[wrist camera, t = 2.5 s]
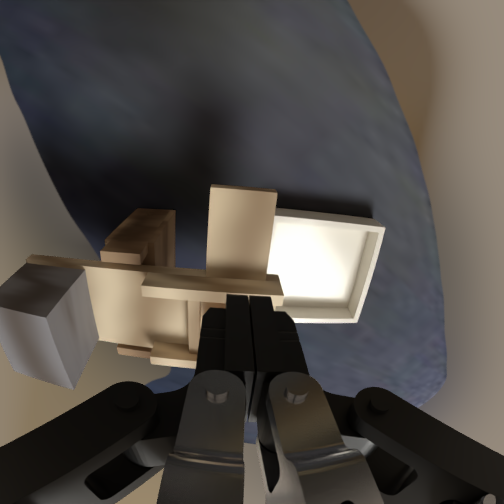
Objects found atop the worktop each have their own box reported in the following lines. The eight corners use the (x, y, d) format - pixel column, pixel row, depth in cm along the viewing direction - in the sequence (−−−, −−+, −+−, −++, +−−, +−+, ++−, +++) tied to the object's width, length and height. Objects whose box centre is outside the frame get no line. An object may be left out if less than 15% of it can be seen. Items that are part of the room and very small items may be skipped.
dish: (267, 207, 29) (271, 215, 26) (373, 218, 30) (385, 227, 27) (255, 306, 33) (257, 321, 31) (349, 309, 34) (356, 322, 32)
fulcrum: (142, 290, 32) (113, 353, 22) (137, 208, 28) (94, 250, 18) (175, 293, 32) (157, 359, 22) (175, 210, 28) (147, 254, 19)
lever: (49, 322, 22) (15, 373, 15) (22, 182, 17) (-39, 210, 10) (265, 347, 24) (275, 415, 17) (290, 191, 18) (320, 227, 12)
